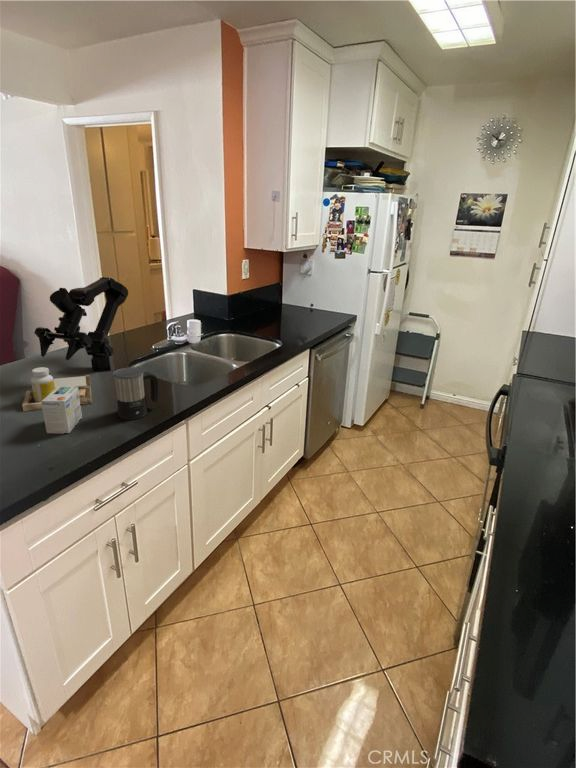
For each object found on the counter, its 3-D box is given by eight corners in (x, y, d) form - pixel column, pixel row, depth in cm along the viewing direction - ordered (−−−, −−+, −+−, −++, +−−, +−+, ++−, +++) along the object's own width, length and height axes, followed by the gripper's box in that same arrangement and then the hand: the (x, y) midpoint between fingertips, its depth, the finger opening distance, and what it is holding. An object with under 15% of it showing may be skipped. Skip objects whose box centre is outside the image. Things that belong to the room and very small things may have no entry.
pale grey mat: (89, 377, 162) (89, 375, 162) (89, 389, 151) (89, 388, 151) (51, 380, 157) (51, 379, 156) (49, 393, 146) (48, 392, 146)
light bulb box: (61, 417, 131) (56, 386, 127) (83, 417, 132) (78, 386, 127) (45, 433, 121) (39, 400, 117) (69, 434, 122) (64, 401, 118)
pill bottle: (61, 399, 142) (56, 368, 138) (45, 407, 136) (39, 374, 132) (46, 396, 144) (41, 365, 140) (30, 403, 138) (24, 371, 134)
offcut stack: (86, 394, 148) (85, 387, 147) (87, 401, 143) (86, 394, 142) (64, 397, 145) (63, 390, 144) (64, 404, 140) (62, 397, 139)
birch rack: (91, 390, 151) (89, 374, 149) (91, 403, 141) (89, 387, 139) (27, 396, 143) (24, 380, 141) (23, 411, 133) (19, 394, 131)
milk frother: (129, 423, 130) (125, 379, 124) (98, 409, 138) (93, 367, 132) (164, 407, 141) (162, 367, 136) (133, 395, 149) (130, 357, 143)
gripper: (105, 334, 154) (91, 371, 148) (59, 328, 156) (44, 365, 150) (90, 317, 144) (74, 357, 138) (42, 312, 146) (24, 350, 140)
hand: (54, 358), depth 142 cm, fingers open, 9 cm apart
